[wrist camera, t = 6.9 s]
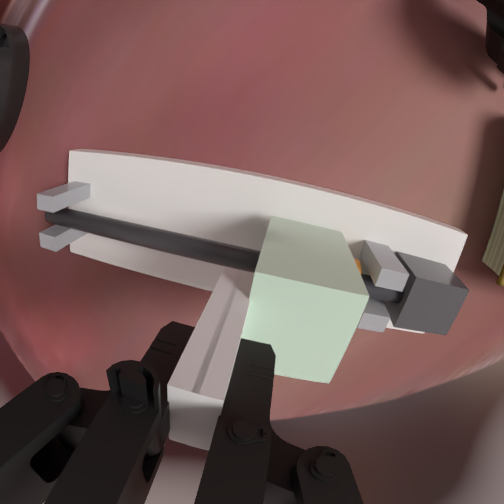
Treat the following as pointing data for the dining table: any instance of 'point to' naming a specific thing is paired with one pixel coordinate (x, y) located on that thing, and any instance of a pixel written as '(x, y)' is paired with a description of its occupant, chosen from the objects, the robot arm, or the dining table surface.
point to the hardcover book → (496, 245)
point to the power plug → (495, 31)
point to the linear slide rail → (248, 231)
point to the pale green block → (305, 299)
